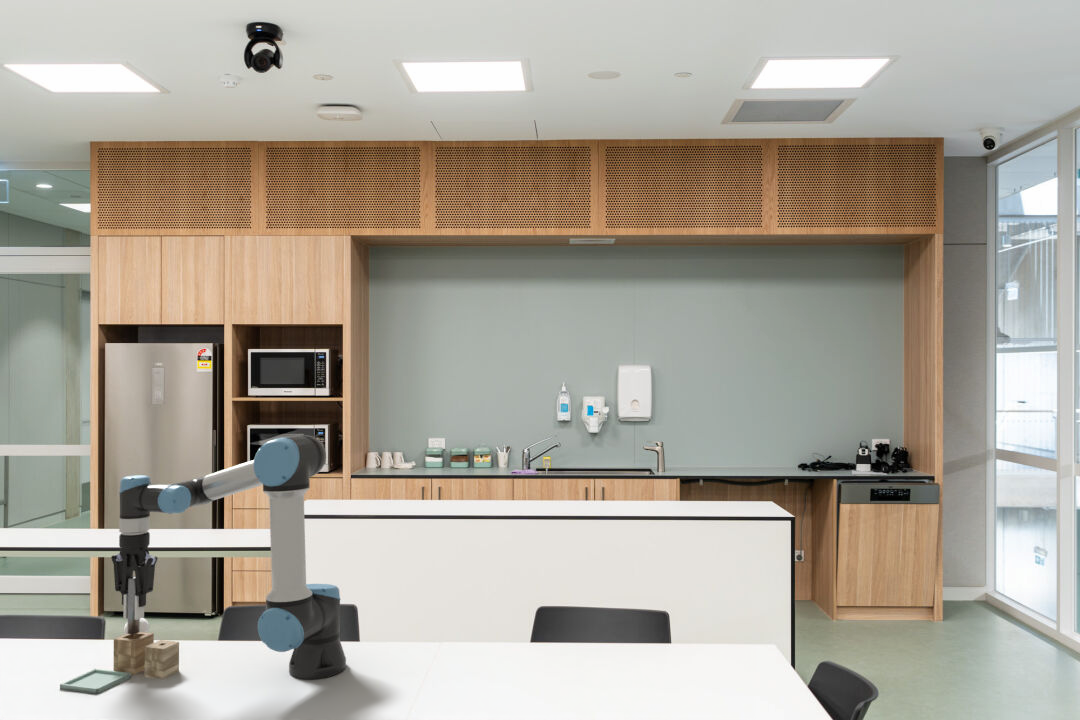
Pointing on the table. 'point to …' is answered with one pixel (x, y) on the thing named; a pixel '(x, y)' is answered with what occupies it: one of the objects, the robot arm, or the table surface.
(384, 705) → the table surface
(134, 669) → the wide-bore block
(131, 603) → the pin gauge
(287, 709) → the table surface
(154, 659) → the narrow-bore block
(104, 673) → the tray
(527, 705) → the table surface
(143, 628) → the light bulb
